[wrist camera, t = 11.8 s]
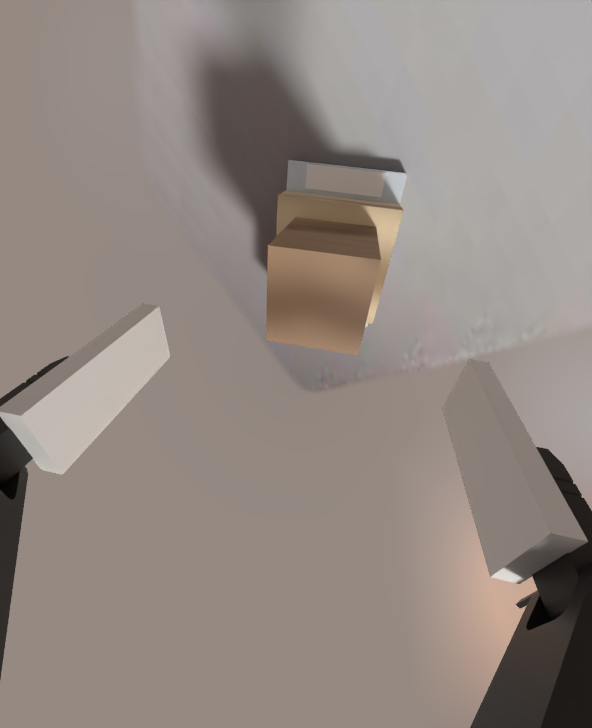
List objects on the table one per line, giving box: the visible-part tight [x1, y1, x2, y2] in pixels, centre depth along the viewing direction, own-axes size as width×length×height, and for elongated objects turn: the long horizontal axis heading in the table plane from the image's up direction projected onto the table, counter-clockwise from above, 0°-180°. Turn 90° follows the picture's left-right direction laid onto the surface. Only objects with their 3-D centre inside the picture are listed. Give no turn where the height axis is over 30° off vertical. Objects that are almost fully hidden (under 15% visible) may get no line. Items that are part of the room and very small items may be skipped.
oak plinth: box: [276, 190, 403, 324], centre depth 25 cm, size 9×9×3 cm
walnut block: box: [266, 217, 381, 355], centre depth 21 cm, size 6×6×8 cm
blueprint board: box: [286, 160, 407, 327], centre depth 27 cm, size 13×9×1 cm
